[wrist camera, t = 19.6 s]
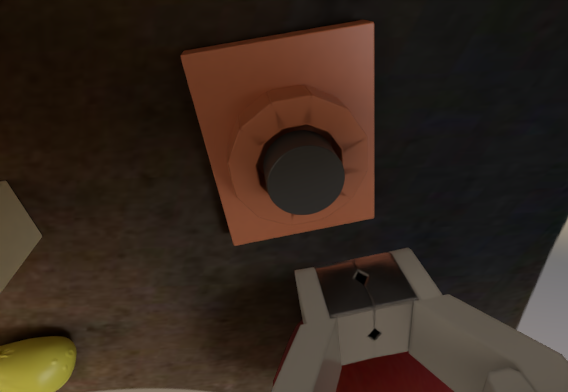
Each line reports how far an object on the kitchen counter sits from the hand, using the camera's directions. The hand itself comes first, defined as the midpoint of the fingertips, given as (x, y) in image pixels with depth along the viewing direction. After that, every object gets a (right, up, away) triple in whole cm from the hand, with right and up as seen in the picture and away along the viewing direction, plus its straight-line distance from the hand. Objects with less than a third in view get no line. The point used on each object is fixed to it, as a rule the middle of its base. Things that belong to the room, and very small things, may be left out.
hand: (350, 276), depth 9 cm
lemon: (-19, -8, +14) cm, 24 cm away
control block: (-1, +5, +9) cm, 10 cm away
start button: (-1, +4, +6) cm, 7 cm away
